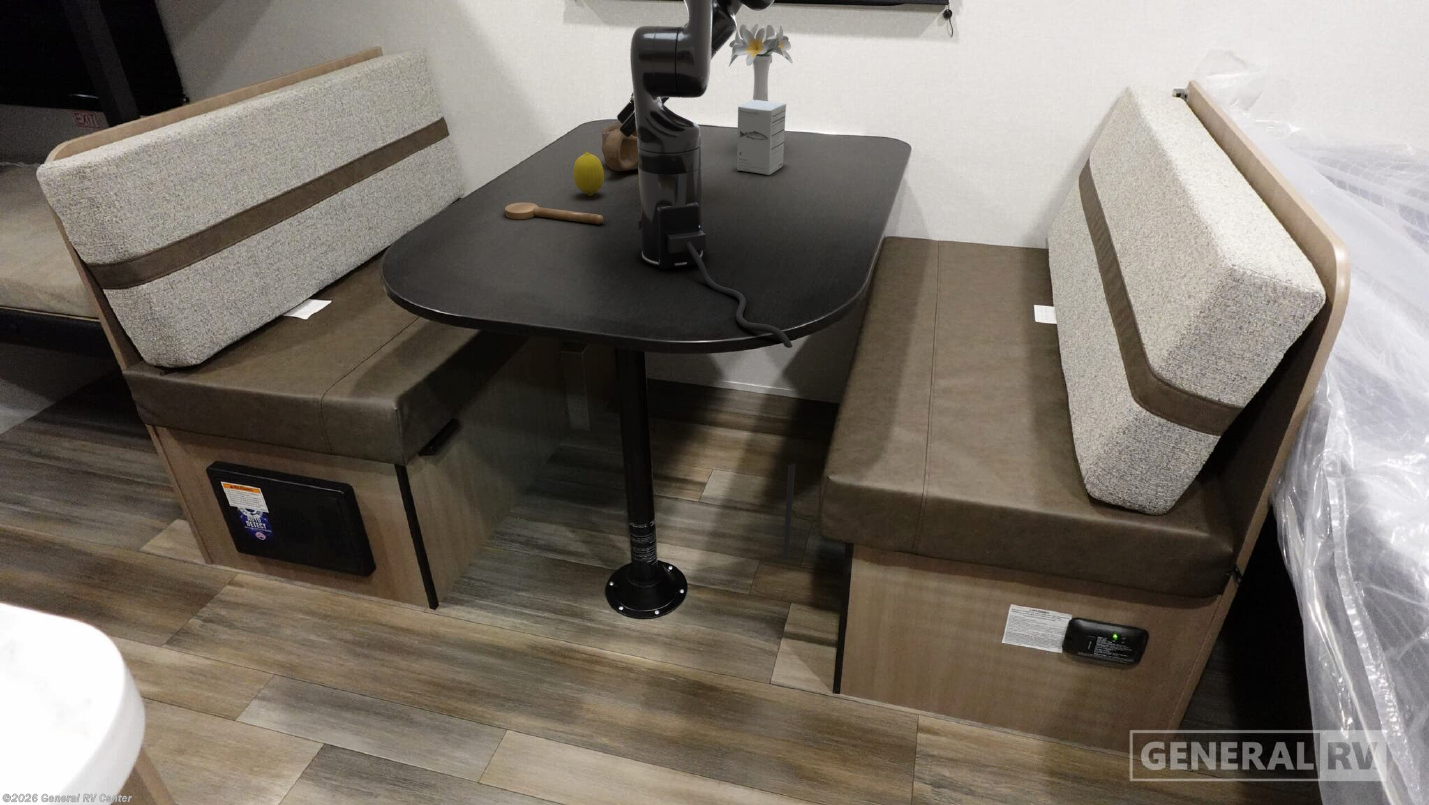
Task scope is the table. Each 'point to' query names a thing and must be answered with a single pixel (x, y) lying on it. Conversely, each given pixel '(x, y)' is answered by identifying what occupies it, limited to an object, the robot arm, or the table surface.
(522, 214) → the spoon
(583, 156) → the lemon
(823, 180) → the table surface
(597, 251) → the table surface
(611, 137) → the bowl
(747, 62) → the flower vase
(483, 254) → the table surface
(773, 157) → the white packaging box
